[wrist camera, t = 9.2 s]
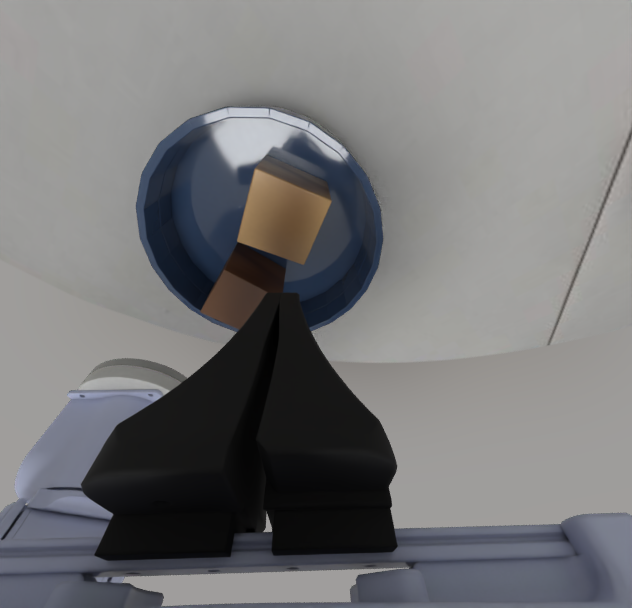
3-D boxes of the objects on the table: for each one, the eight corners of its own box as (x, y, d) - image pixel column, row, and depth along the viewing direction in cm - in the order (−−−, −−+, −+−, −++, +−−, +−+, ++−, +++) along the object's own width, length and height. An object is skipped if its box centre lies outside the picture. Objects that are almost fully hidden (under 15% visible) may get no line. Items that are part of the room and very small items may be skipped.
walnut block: (216, 280, 21) (199, 312, 17) (238, 240, 19) (223, 269, 15) (261, 302, 22) (253, 336, 19) (286, 268, 20) (282, 299, 17)
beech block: (249, 216, 18) (236, 242, 14) (265, 153, 15) (254, 167, 12) (304, 237, 19) (304, 265, 15) (327, 181, 16) (332, 200, 13)
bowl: (198, 304, 23) (181, 337, 19) (132, 103, 14) (82, 103, 11) (357, 304, 23) (365, 336, 20) (386, 108, 15) (407, 109, 11)
